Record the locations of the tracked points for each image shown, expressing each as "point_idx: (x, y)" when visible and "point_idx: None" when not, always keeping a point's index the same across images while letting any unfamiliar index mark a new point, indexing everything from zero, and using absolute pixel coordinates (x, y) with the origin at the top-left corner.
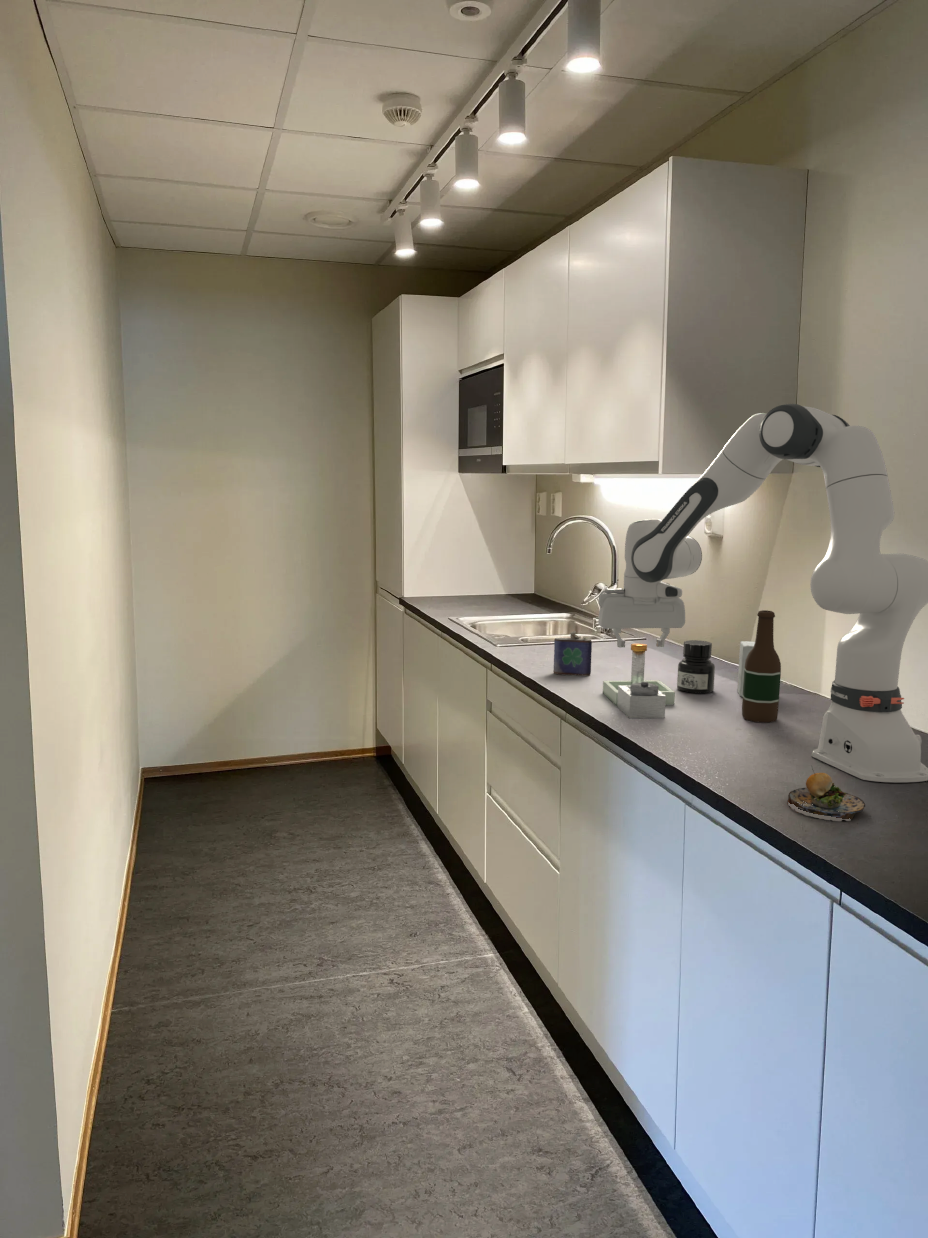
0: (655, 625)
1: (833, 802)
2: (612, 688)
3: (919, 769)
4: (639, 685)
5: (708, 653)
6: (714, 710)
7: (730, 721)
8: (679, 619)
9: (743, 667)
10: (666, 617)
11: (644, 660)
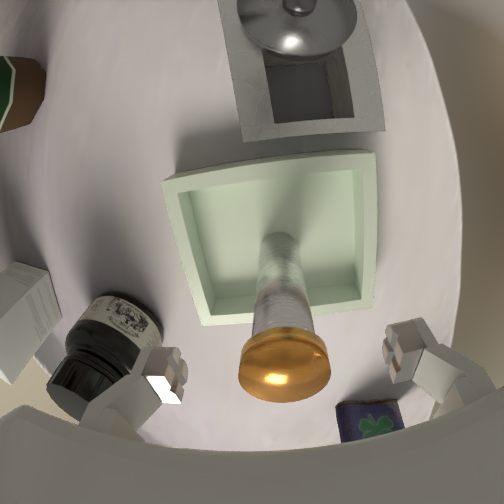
0: (157, 463)
1: None
2: (374, 212)
3: None
4: (320, 11)
5: (57, 367)
6: (84, 134)
7: (73, 44)
8: (7, 443)
9: (9, 305)
10: (61, 492)
11: (256, 313)
